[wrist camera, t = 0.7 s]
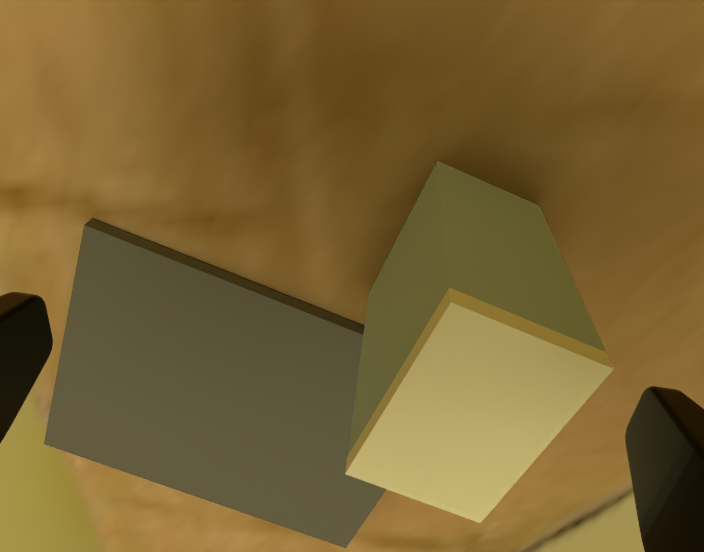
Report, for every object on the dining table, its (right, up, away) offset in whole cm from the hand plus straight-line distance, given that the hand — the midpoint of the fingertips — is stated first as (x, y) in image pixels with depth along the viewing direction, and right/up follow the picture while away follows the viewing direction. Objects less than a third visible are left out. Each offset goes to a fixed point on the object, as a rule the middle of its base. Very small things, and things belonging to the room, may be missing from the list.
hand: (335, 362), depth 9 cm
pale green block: (+4, +2, +13) cm, 14 cm away
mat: (-5, -5, +18) cm, 19 cm away
